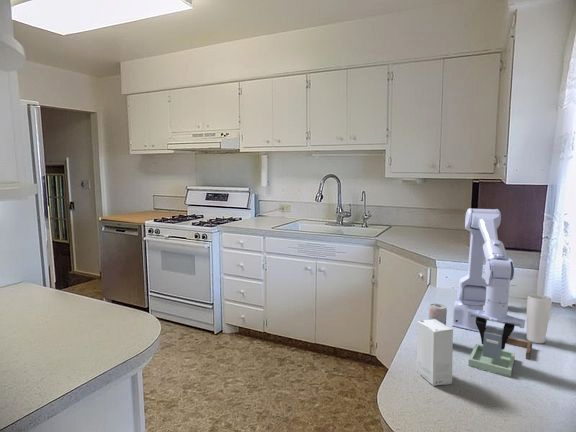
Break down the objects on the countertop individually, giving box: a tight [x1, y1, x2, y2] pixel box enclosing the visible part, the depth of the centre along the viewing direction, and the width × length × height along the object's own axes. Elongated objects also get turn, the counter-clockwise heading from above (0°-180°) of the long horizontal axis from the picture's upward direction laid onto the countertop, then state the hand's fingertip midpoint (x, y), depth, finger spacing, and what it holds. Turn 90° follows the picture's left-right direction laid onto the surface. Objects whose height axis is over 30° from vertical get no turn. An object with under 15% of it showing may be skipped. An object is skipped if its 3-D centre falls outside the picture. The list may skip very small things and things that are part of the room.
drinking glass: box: [525, 293, 552, 344], centre depth 128 cm, size 7×7×15 cm
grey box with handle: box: [482, 324, 504, 360], centre depth 112 cm, size 4×8×7 cm, turn 145°
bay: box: [505, 336, 533, 360], centre depth 122 cm, size 12×9×2 cm
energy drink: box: [427, 303, 448, 326], centre depth 126 cm, size 5×5×12 cm
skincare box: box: [416, 319, 454, 387], centre depth 103 cm, size 8×6×15 cm
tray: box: [467, 343, 516, 378], centre depth 113 cm, size 11×13×2 cm
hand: (493, 345), depth 112 cm, fingers closed on grey box with handle, 4 cm apart
